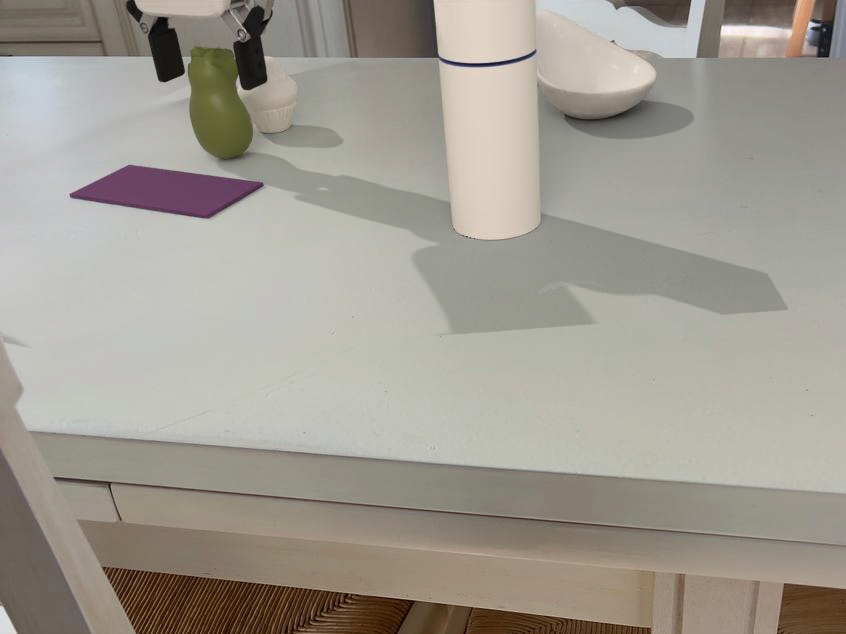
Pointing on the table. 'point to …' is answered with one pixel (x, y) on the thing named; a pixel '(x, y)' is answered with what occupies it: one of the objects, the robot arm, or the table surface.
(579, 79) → the spoon rest
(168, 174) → the cloth
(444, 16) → the cylindrical container
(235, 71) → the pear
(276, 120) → the muffin
